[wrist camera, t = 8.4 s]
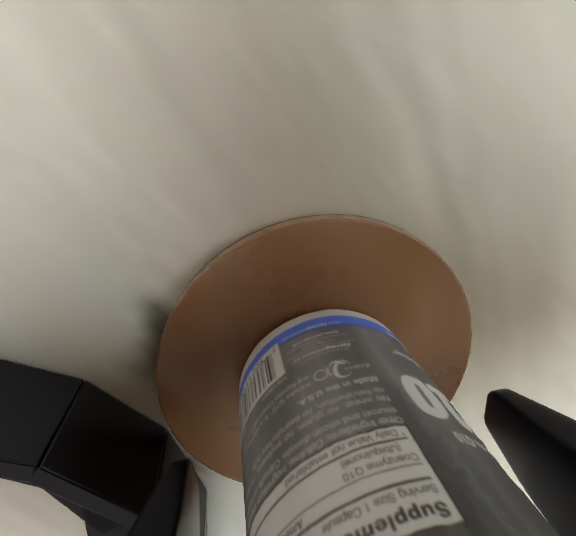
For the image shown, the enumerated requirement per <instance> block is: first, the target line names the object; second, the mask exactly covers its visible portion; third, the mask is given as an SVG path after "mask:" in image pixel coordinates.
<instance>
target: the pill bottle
mask: <svg viewBox="0 0 576 536" xmlns="http://www.w3.org/2000/svg"><path fill="white" fill-rule="evenodd" d="M239 421H240V440H241V451H242V471H243V486H244V502H245V518H246V536H560V535H559V534H558V533H557V532H556V531H555V529H554V528H553V527H552V526H551V525H550V524H549V523H548V522H547V521H546V519H545V518H544V517H543V516H542V514H541V513H540V512H539V511H538V509H537V508H536V507H535V506H534V505H533V503H532V502H531V501H530V500H529V499H528V497H527V496H526V495H525V494H524V492H523V491H522V490H521V489H520V488H519V487H518V486H517V485H516V484H515V483H514V482H513V481H512V480H511V479H510V477H509V476H508V475H507V474H506V472H505V471H504V470H503V468H502V467H501V466H500V464H499V463H498V462H497V460H496V459H495V458H494V457H493V456H492V455H491V454H490V453H489V452H488V450H487V448H486V447H485V445H484V443H483V442H482V441H481V440H480V439H479V438H478V437H477V436H476V435H475V433H474V432H473V431H472V429H471V428H470V427H469V426H468V425H467V424H466V422H465V421H464V420H463V419H462V417H461V416H460V415H459V414H458V412H457V411H456V410H455V408H454V407H453V405H452V404H451V403H450V402H449V401H448V400H447V398H446V397H445V395H444V394H443V393H442V392H441V391H440V389H439V388H438V387H437V386H436V384H435V383H434V382H433V381H432V380H431V379H430V378H429V377H428V375H427V374H426V373H425V372H424V371H423V369H422V368H421V367H420V366H419V365H418V364H417V362H416V361H415V360H414V359H413V357H412V356H411V355H410V354H409V353H408V351H407V350H406V349H405V347H404V346H403V345H402V343H401V342H400V341H399V340H398V339H397V338H396V337H395V336H394V335H393V333H392V332H391V331H390V330H389V329H388V328H387V327H385V326H384V325H383V324H382V323H381V322H379V321H377V320H376V319H374V318H372V317H369V316H367V315H365V314H361V313H358V312H354V311H349V310H340V309H327V310H321V311H317V312H312V313H308V314H305V315H302V316H299V317H297V318H294V319H292V320H290V321H288V322H286V323H284V324H282V325H281V326H279V327H278V328H276V329H275V330H273V331H272V332H271V333H269V334H268V335H267V336H265V337H264V338H263V339H262V340H261V341H260V342H259V343H258V344H257V346H256V347H255V348H254V350H253V351H252V353H251V354H250V356H249V358H248V360H247V362H246V364H245V366H244V369H243V371H242V375H241V378H240V383H239Z"/></svg>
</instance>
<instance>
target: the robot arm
mask: <svg viewBox="0 0 576 536" xmlns="http://www.w3.org/2000/svg"><path fill="white" fill-rule="evenodd" d="M484 419H485V424H486V426H487V428H488V430H489V432H490V433H491V435H492V437H493V438H494V440H495V442H496V443H497V445H498V446H499V448H500V450H501V451H502V453H503V455H504V456H505V458H506V460H507V461H508V463H509V465H510V466H511V468H512V469H513V471H514V473H515V474H516V476H517V478H518V479H519V481H520V483H521V484H522V486H523V487H524V489H525V490H526V492H527V493H528V495H529V496H530V498H531V499H532V501H533V502H534V503H535V505H536V506H537V507H538V509H539V510H540V512H541V513H542V514H543V516H544V517H545V518H546V520H547V521H548V523H549V524H550V525H551V526H552V527H553V528H554V529H555V531H556V532H557V533H558V534H559V535H560V536H576V420H574V419H572V418H569V417H567V416H565V415H563V414H561V413H559V412H557V411H554V410H552V409H550V408H548V407H546V406H544V405H542V404H539V403H537V402H535V401H533V400H531V399H529V398H526V397H524V396H522V395H520V394H518V393H516V392H514V391H511V390H509V389H499V390H495V391H491V392H490V393H489V394H488V396H487V402H486V408H485V415H484ZM127 536H200V506H199V486H198V482H197V478H196V475H195V472H194V468H193V465H192V462H191V460H190V459H187V458H186V459H181V460H177V461H173V462H171V463H170V464H169V465H168V467H167V468H166V470H165V472H164V473H163V475H162V477H161V478H160V480H159V482H158V484H157V485H156V487H155V489H154V490H153V492H152V494H151V495H150V497H149V499H148V501H147V502H146V504H145V506H144V507H143V509H142V511H141V512H140V514H139V516H138V517H137V519H136V521H135V523H134V524H133V526H132V528H131V529H130V531H129V533H128V534H127Z"/></svg>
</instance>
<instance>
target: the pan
mask: <svg viewBox="0 0 576 536" xmlns="http://www.w3.org/2000/svg"><path fill="white" fill-rule="evenodd" d="M181 459H186V458H185V457H184V455H183V454H182V452H181V451H180V449H179V448H178V446H177V445H176V443H175V442H174V440H173V439H172V437H171V436H170V434H169V433H168V432H166V430H165V429H163V428H162V427H160V426H158V425H157V424H155V423H154V422H152V421H150V420H149V419H147V418H145V417H144V416H142V415H141V414H139V413H137V412H136V411H134V410H133V409H131V408H129V407H128V406H126V405H124V404H123V403H121V402H120V401H118V400H116V399H115V398H113V397H111V396H110V395H108V394H107V393H105V392H103V391H102V390H100V389H98V388H97V387H95V386H94V385H92V384H90V383H89V382H87V381H84V382H83V380H82V379H79V378H75V377H71V376H67V375H63V374H59V373H54V372H50V371H46V370H42V369H38V368H34V367H30V366H26V365H22V364H18V363H14V362H10V361H5V360H1V359H0V478H3V479H7V480H11V481H15V482H19V483H24V484H28V485H32V486H36V487H40V488H42V489H44V490H45V491H46V492H48V493H49V494H50V495H51V496H53V497H54V498H55V499H57V500H58V501H59V502H61V503H62V504H63V505H64V506H66V507H67V508H68V509H70V510H71V511H72V512H73V513H75V514H76V515H77V516H79V517H80V518H81V519H82V520H84V521H85V525H86V530H87V534H88V536H127V534H128V533H129V531H130V529H131V528H132V526H133V524H134V523H135V521H136V519H137V517H138V516H139V514H140V512H141V511H142V509H143V507H144V506H145V504H146V502H147V501H148V499H149V497H150V495H151V494H152V492H153V490H154V489H155V487H156V485H157V484H158V482H159V480H160V478H161V477H162V475H163V473H164V472H165V470H166V468H167V467H168V465H169V464H170V463H171V462H173V461H177V460H181ZM195 475H196V473H195ZM196 478H197V482H198V486H199V506H200V536H207V493H206V489H205V487H204V485H203V484H202V482H201V481H200V479H199V478H198V476H197V475H196Z"/></svg>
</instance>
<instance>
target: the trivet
mask: <svg viewBox="0 0 576 536" xmlns="http://www.w3.org/2000/svg"><path fill="white" fill-rule="evenodd" d="M327 309H340V310H349V311H354V312H358V313H361V314H365V315H367V316H369V317H372V318H374V319H376V320H377V321H379V322H381V323H382V324H383V325H384V326H385V327H387V328H388V329H389V330H390V331H391V332H392V333H393V335H394V336H395V337H396V338H397V339H398V340H399V341H400V342H401V343H402V345H403V346H404V347H405V349H406V350H407V351H408V353H409V354H410V355H411V356H412V357H413V359H414V360H415V361H416V362H417V364H418V365H419V366H420V367H421V368H422V369H423V371H424V372H425V373H426V374H427V375H428V377H429V378H430V379H431V380H432V381H433V382H434V383H435V384H436V386H437V387H438V388H439V389H440V391H441V392H442V393H443V394H444V395H445V397H446V398H447V400H448V401H449V402H450V401H451V400H452V398H453V396H454V395H455V393H456V391H457V389H458V387H459V385H460V383H461V380H462V378H463V375H464V372H465V369H466V366H467V362H468V358H469V354H470V347H471V336H472V333H471V317H470V312H469V308H468V303H467V300H466V297H465V295H464V292H463V290H462V287H461V285H460V283H459V281H458V280H457V278H456V276H455V275H454V273H453V271H452V270H451V269H450V267H449V266H448V265H447V264H446V263H445V261H444V260H443V259H442V258H441V257H440V256H439V255H438V254H437V253H436V252H434V251H433V250H432V249H431V248H430V247H429V246H427V245H426V244H425V243H423V242H421V241H420V240H418V239H416V238H415V237H413V236H411V235H410V234H408V233H406V232H405V231H403V230H401V229H399V228H396V227H394V226H391V225H389V224H387V223H384V222H381V221H377V220H373V219H369V218H365V217H359V216H349V215H315V216H309V217H303V218H297V219H292V220H288V221H285V222H282V223H278V224H275V225H272V226H269V227H266V228H264V229H262V230H260V231H257V232H255V233H253V234H251V235H248V236H246V237H245V238H243V239H241V240H240V241H238V242H236V243H235V244H233V245H231V246H230V247H228V248H227V249H225V250H224V251H223V252H221V253H220V254H219V255H218V256H216V257H215V258H214V259H213V260H211V261H210V262H209V263H208V264H206V266H205V267H204V268H203V269H202V270H201V271H200V272H199V273H198V274H197V275H196V276H195V277H194V278H193V279H192V280H191V281H190V283H189V284H188V286H187V287H186V288H185V290H184V291H183V293H182V294H181V295H180V297H179V298H178V300H177V302H176V303H175V305H174V307H173V309H172V311H171V313H170V315H169V317H168V319H167V322H166V325H165V328H164V331H163V334H162V337H161V341H160V344H159V349H158V355H157V361H156V388H157V394H158V400H159V404H160V407H161V410H162V412H163V415H164V418H165V420H166V422H167V424H168V426H169V427H170V429H171V431H172V433H173V435H174V436H175V437H176V438H177V440H178V441H179V442H180V443H181V445H182V446H183V447H184V448H185V449H186V450H187V451H188V452H189V453H190V454H191V455H192V456H193V457H194V458H195V459H197V460H198V461H200V462H201V463H202V464H204V465H205V466H207V467H208V468H210V469H212V470H213V471H215V472H217V473H219V474H221V475H223V476H225V477H228V478H231V479H233V480H236V481H239V482H242V483H243V471H242V451H241V440H240V421H239V383H240V378H241V375H242V371H243V369H244V366H245V364H246V362H247V360H248V358H249V356H250V354H251V353H252V351H253V350H254V348H255V347H256V346H257V344H258V343H259V342H260V341H261V340H262V339H263V338H264V337H265V336H267V335H268V334H269V333H271V332H272V331H273V330H275V329H276V328H278V327H279V326H281V325H282V324H284V323H286V322H288V321H290V320H292V319H294V318H297V317H299V316H302V315H305V314H308V313H312V312H317V311H321V310H327Z"/></svg>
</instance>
